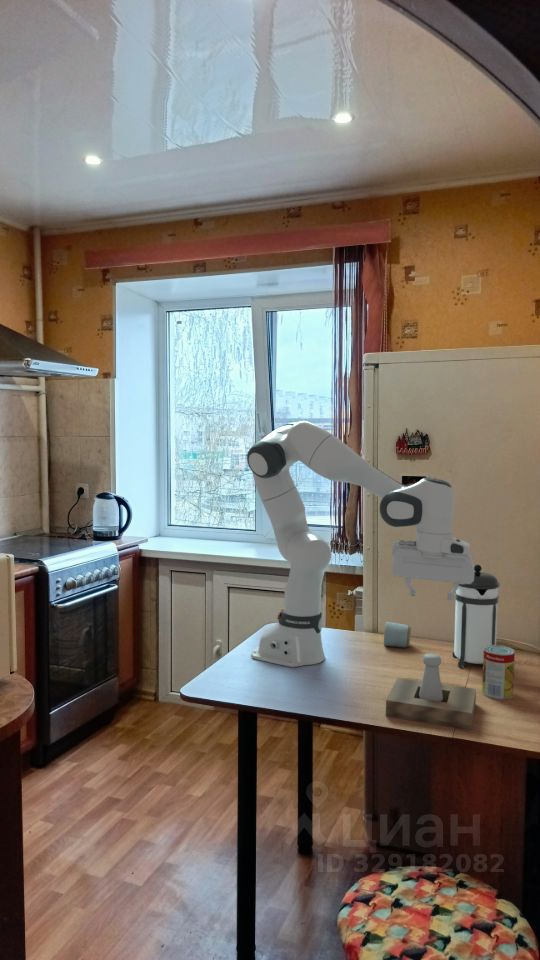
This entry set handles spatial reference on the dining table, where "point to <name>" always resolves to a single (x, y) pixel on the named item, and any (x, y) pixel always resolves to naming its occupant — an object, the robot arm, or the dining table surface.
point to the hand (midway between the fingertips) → (431, 597)
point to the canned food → (498, 672)
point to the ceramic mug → (397, 635)
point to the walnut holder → (432, 704)
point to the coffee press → (475, 617)
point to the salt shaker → (431, 679)
